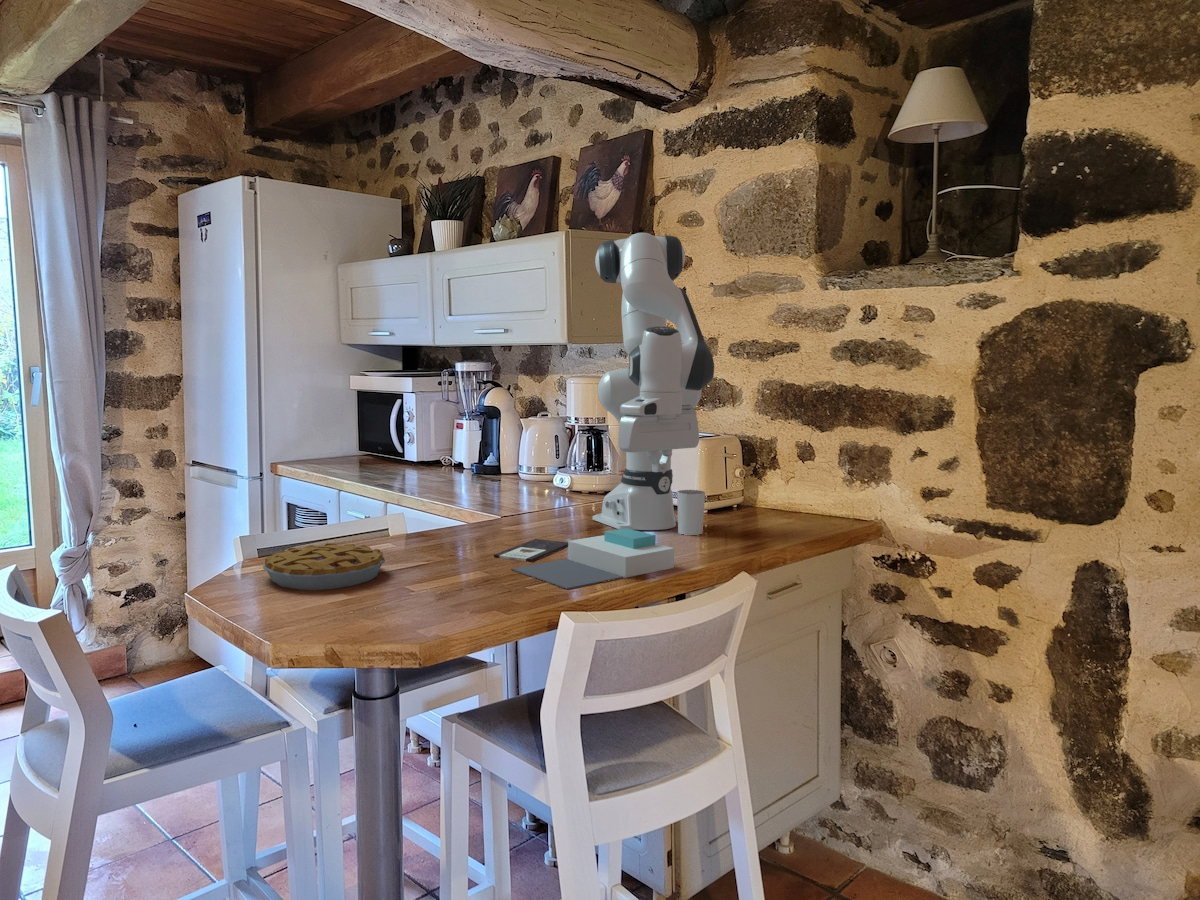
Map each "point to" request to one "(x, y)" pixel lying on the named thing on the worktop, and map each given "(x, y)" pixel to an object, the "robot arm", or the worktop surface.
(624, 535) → the teal block
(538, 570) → the mat
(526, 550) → the chocolate bar
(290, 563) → the pie
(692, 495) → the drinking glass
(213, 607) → the worktop surface
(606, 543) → the grey flat block
